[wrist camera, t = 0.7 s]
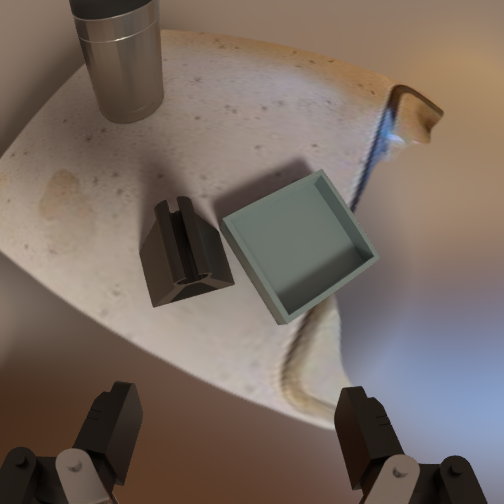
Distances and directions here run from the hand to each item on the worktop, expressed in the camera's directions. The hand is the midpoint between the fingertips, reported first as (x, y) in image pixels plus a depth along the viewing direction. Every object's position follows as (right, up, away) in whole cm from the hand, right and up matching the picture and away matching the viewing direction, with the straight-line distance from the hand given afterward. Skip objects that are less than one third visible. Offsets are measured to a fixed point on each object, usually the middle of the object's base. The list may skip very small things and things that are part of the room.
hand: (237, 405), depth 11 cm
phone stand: (-6, +4, +22) cm, 24 cm away
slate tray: (+6, +6, +25) cm, 26 cm away
